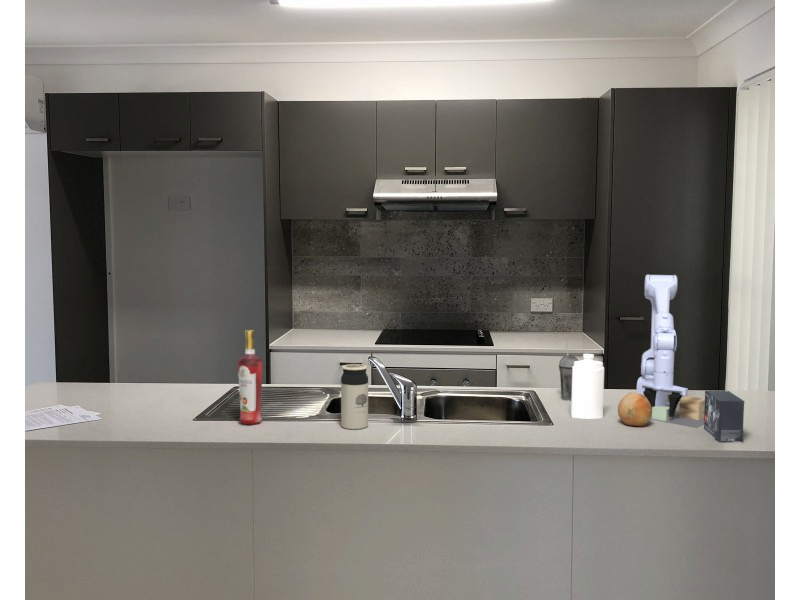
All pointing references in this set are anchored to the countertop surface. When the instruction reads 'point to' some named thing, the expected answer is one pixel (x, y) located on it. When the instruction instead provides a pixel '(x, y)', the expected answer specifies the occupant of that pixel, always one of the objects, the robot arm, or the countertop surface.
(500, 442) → the countertop surface
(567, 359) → the beverage cup
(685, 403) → the oak slab upper
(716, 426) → the small box
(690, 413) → the oak slab lower
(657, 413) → the sage block
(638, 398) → the onion
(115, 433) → the countertop surface
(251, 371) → the liquor
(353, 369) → the travel mug
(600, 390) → the squeeze bottle
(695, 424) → the mat
